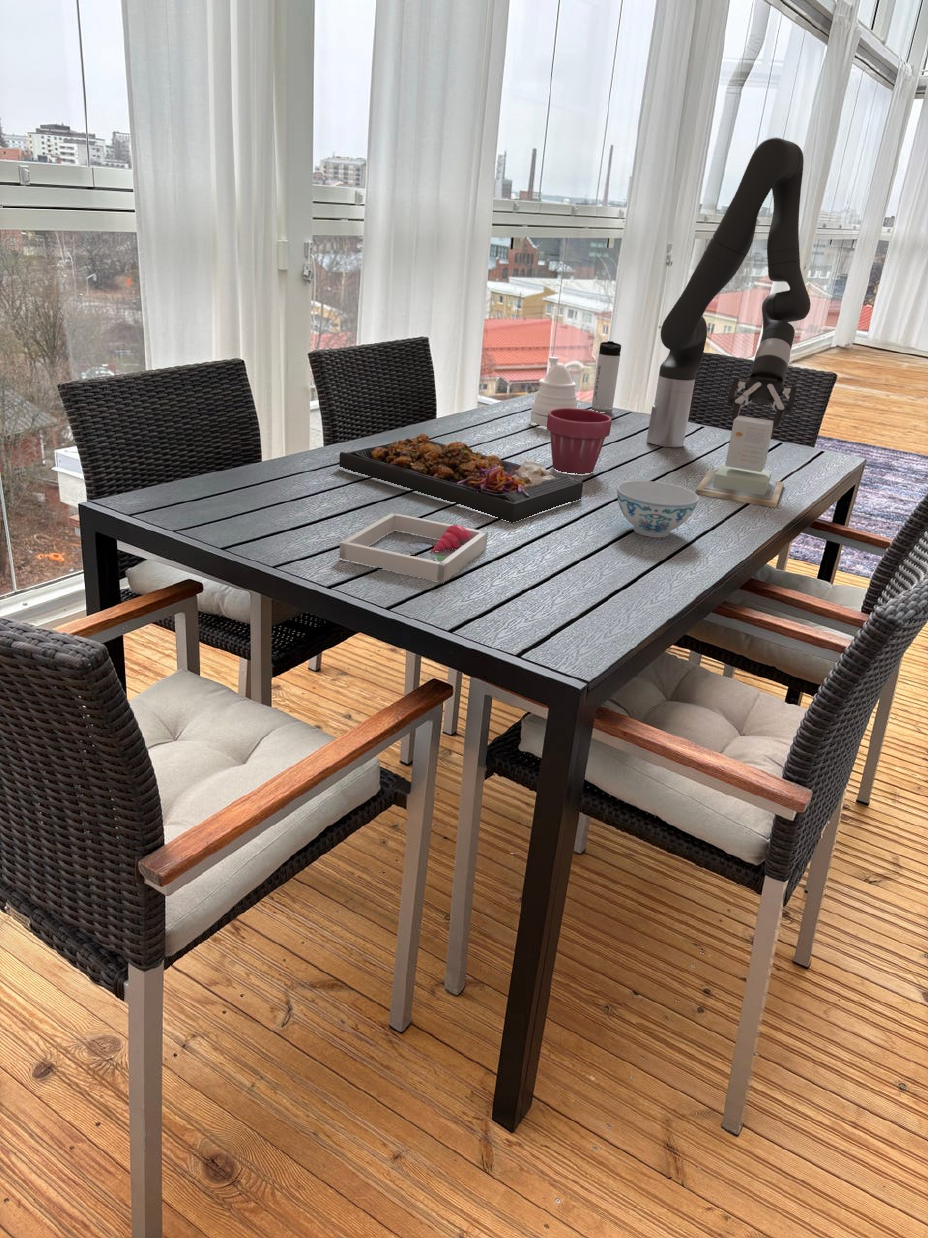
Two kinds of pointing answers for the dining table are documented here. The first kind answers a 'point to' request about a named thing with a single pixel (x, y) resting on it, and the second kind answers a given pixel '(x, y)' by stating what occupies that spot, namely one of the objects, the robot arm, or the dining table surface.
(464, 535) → the toy pieces
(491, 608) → the dining table surface
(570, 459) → the plant pot
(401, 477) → the food platter
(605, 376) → the travel mug
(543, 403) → the honey pot
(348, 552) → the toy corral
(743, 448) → the small box
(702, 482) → the board
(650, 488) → the chinaware
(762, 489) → the plinth
